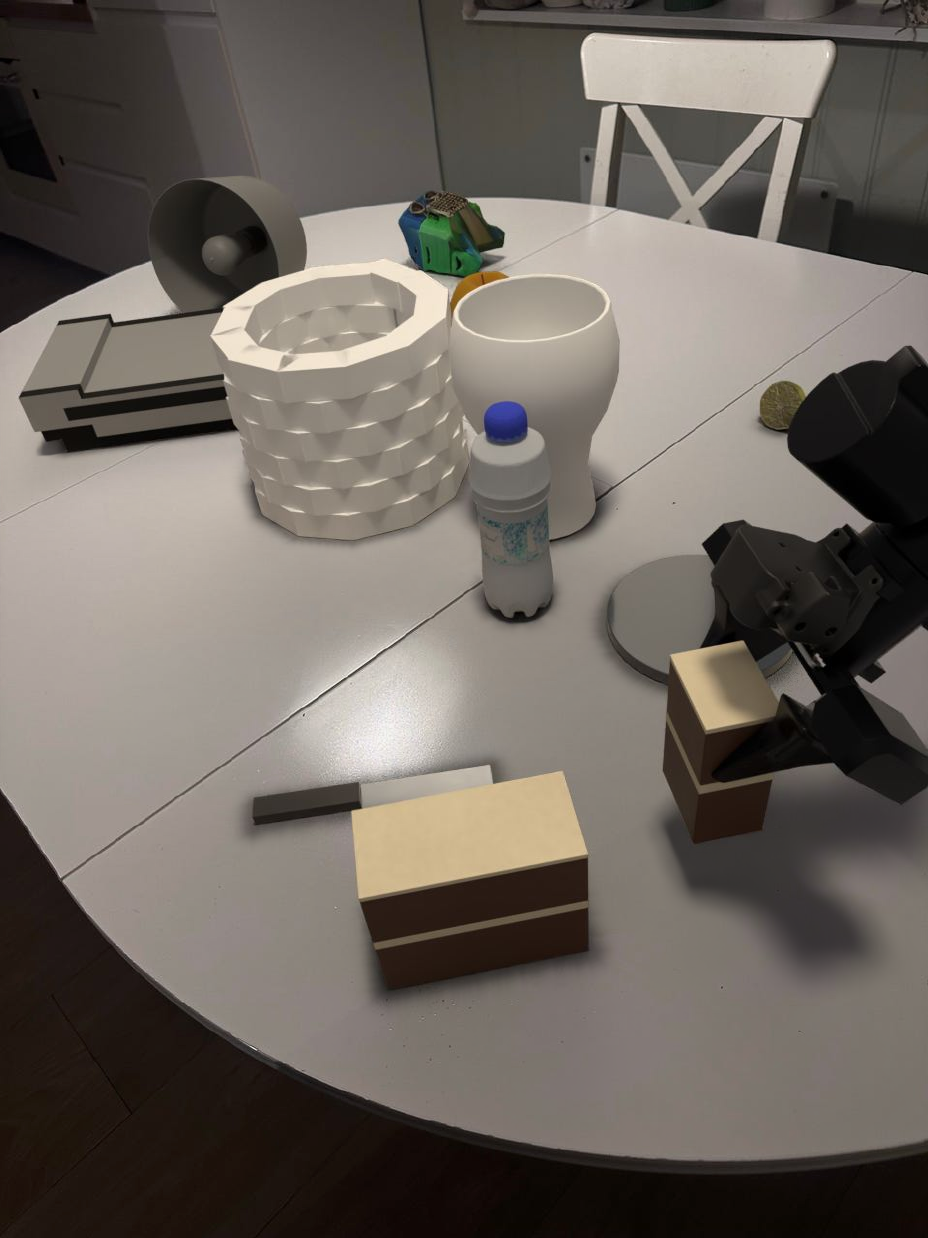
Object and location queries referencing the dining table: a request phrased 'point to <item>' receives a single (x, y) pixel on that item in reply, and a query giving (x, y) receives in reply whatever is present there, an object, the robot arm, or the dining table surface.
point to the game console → (128, 381)
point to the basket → (344, 397)
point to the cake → (472, 879)
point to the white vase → (541, 373)
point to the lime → (780, 404)
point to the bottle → (512, 510)
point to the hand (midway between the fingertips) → (696, 737)
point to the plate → (668, 615)
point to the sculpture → (448, 233)
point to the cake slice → (715, 738)
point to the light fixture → (222, 239)
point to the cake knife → (365, 794)
